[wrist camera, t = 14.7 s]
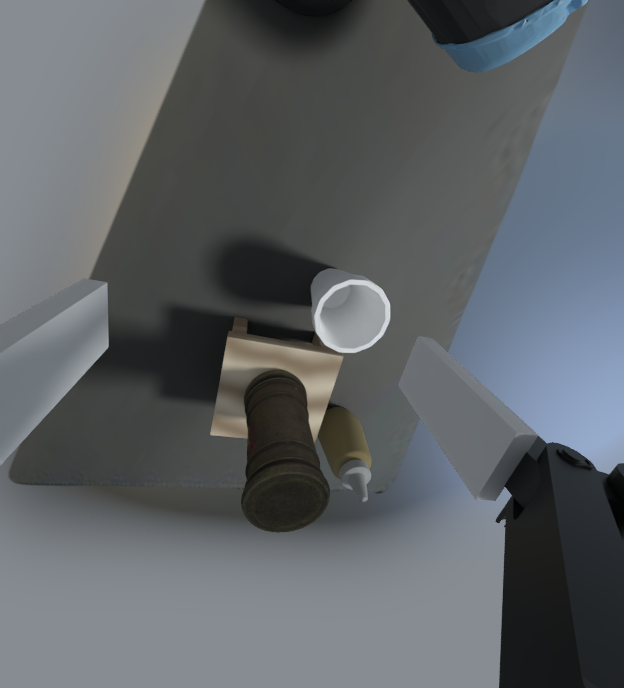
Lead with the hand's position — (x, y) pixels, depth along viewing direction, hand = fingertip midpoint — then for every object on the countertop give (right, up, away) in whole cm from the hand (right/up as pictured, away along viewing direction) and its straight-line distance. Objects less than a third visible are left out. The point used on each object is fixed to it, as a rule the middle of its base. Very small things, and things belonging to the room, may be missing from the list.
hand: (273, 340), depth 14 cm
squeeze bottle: (+6, -14, +48) cm, 50 cm away
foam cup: (+5, +9, +37) cm, 38 cm away
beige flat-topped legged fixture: (-5, -4, +41) cm, 41 cm away
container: (-4, -8, +33) cm, 34 cm away
